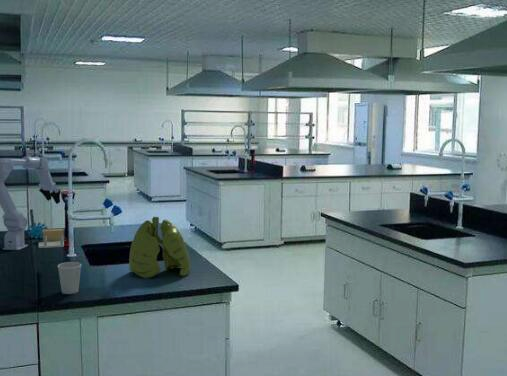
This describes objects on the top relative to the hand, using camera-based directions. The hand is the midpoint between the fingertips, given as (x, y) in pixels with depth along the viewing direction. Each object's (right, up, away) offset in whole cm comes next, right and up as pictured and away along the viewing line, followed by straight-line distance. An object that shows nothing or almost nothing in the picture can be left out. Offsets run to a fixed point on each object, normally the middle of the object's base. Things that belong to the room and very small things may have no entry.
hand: (53, 201), depth 289 cm
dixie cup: (+37, -31, -86) cm, 99 cm away
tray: (+5, -21, -15) cm, 26 cm away
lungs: (+65, -29, -60) cm, 93 cm away
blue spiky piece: (-8, -19, +2) cm, 21 cm away
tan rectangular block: (+2, -20, -6) cm, 22 cm away
